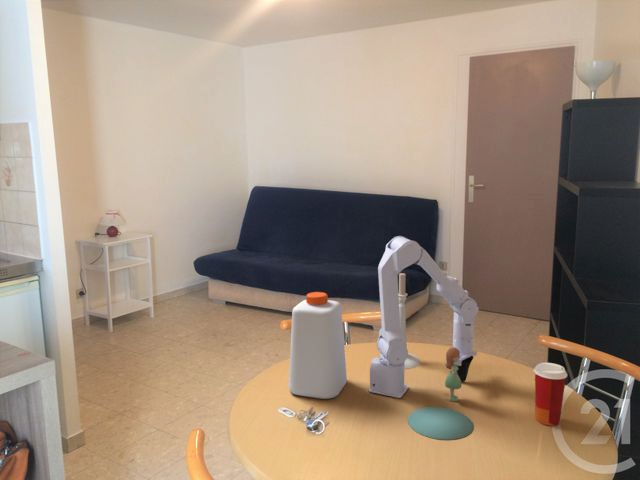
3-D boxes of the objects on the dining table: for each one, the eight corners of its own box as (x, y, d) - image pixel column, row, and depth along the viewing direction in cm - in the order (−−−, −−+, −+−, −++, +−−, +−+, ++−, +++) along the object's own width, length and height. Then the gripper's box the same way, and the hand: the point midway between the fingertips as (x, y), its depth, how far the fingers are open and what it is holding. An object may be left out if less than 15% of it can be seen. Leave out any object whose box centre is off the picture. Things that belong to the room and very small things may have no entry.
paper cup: (562, 415, 135) (565, 363, 133) (565, 430, 128) (569, 375, 126) (529, 410, 138) (532, 360, 135) (531, 425, 130) (534, 371, 128)
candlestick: (425, 358, 174) (427, 269, 169) (415, 373, 162) (417, 278, 157) (387, 353, 179) (388, 266, 174) (376, 366, 167) (376, 275, 162)
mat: (399, 430, 129) (399, 429, 129) (418, 403, 143) (418, 402, 143) (465, 446, 121) (465, 445, 121) (478, 415, 136) (478, 414, 135)
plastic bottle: (335, 402, 144) (334, 303, 139) (284, 395, 148) (281, 299, 144) (350, 380, 158) (349, 289, 153) (303, 374, 162) (301, 286, 158)
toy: (462, 411, 138) (464, 357, 135) (445, 410, 138) (446, 356, 136) (459, 389, 150) (461, 339, 148) (444, 388, 151) (445, 338, 149)
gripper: (472, 346, 144) (470, 392, 146) (481, 330, 157) (480, 373, 159) (446, 342, 147) (445, 388, 149) (458, 327, 160) (456, 369, 162)
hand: (461, 380), depth 154 cm, fingers closed
